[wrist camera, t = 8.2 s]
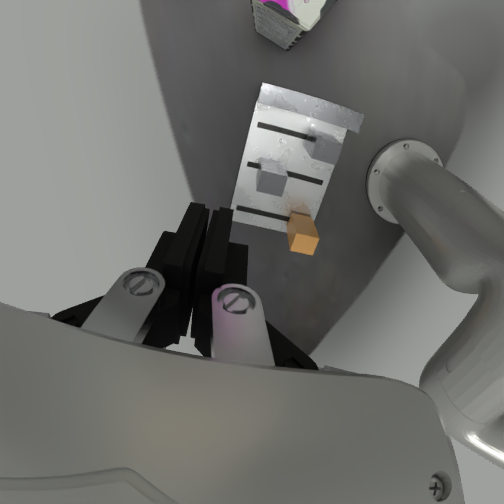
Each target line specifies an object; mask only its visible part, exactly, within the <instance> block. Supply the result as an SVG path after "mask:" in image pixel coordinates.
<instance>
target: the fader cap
mask: <svg viewBox="0 0 504 504" xmlns="http://www.w3.org/2000/svg"><path fill="white" fill-rule="evenodd" d="M286 229H287V235H288V241H289V247H290V251H295V252H300V253H304V254H309V255H313V253H314V250H315V248H316V245H317V243H318V241H319V236H318V233H317V230H316V227H315V224H314V221H313V218H311V217H307V216H303V215H299V214H295V213H292V214H291V216H290V219H289V222H288V225H287V228H286Z"/></svg>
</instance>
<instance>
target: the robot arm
mask: <svg viewBox="0 0 504 504" xmlns="http://www.w3.org/2000/svg"><path fill="white" fill-rule="evenodd" d="M404 144H405V145H404ZM403 145H404V146H403ZM375 169H376V171H374V170H375ZM366 190H367V196H368V199H369V202H370V204H371V205H372V207H373V209H374V210H375V211H376V213H377V214H378V215H379V216H381V217H382V218H383V219H385V220H386V221H388V222H391V223H394V224H400V225H401V226H402V228H403V229H404V230H405V232H406V233H407V234H408V235H409V237H410V238H411V239H412V241H413V242H414V243H415V245H416V246H417V247H418V248H419V250H420V252H421V253H422V254H423V256H424V257H425V258H426V260H427V261H428V263H429V264H430V266H431V267H432V268H433V270H434V271H435V272H436V274H437V275H438V277H439V278H440V279H441V281H442V282H443V283H445V284H446V285H447V286H448V287H450V288H451V289H453V290H455V291H458V292H462V293H469V294H479V295H478V298H477V300H476V302H475V304H474V305H473V306H472V308H471V309H470V310H469V312H468V314H467V316H466V317H465V318H464V319H463V321H462V322H461V323H460V324H459V325H458V327H457V328H456V329H455V330H454V331H453V333H452V334H451V335H450V336H449V337H448V339H447V340H446V341H445V342H444V343H443V344H442V346H441V347H440V348H439V349H438V350H437V351H436V352H435V354H434V355H433V356H432V357H431V359H430V360H429V361H428V362H427V364H426V365H425V367H424V369H423V371H422V374H421V376H420V381H419V388H417V387H415V386H413V385H411V384H408V383H405V382H402V381H399V380H396V379H391V378H387V377H383V376H376V375H370V374H359V373H354V372H349V371H345V370H342V369H338V368H334V367H330V366H326V365H325V366H324V368H320V367H317V365H316V363H315V362H314V361H313V360H312V359H311V358H310V357H309V356H307V355H306V354H305V353H304V352H303V351H301V350H300V349H299V348H298V347H297V346H295V345H294V344H293V343H292V342H291V341H290V340H288V339H287V338H286V337H285V336H284V335H282V334H281V333H280V332H279V331H278V330H277V329H275V328H274V327H273V326H272V325H271V324H270V323H268V322H267V321H266V320H265V317H264V313H263V308H262V304H261V300H260V298H259V296H258V295H257V294H256V293H255V291H253V290H252V289H250V288H248V287H246V285H247V265H248V245H243V244H237V243H231V242H229V237H230V231H231V225H232V218H233V212H234V209H228V208H222V207H220V209H219V211H218V210H214V211H213V214H212V218H211V221H210V224H209V228H208V231H207V225H208V218H209V211H210V209H206V208H205V204H199V203H193V202H191V203H190V205H189V207H188V209H187V211H186V213H185V215H184V217H183V219H182V221H181V224H180V226H179V228H178V230H177V232H176V233H173V232H168V231H164V232H163V233H162V235H161V237H160V239H159V241H158V243H157V245H156V247H155V249H154V251H153V253H152V255H151V257H150V259H149V261H148V263H147V265H146V267H143V268H133V269H130V270H128V271H126V272H124V273H123V274H122V275H121V276H120V277H119V278H118V280H117V281H116V282H115V283H114V284H113V286H112V287H111V288H110V290H109V291H108V292H107V293H106V295H104V296H101V297H98V298H95V299H93V300H90V301H87V302H85V303H82V304H79V305H77V306H74V307H71V308H68V309H66V310H63V311H61V312H59V313H57V314H55V315H54V316H53V317H50V314H49V313H41V312H31V311H25V310H22V309H19V308H16V307H13V306H10V305H7V304H4V303H1V302H0V504H465V502H464V495H463V490H462V484H461V478H460V474H459V469H458V464H457V460H456V456H455V453H454V449H453V446H452V442H451V439H450V436H451V437H452V438H454V439H455V440H457V441H458V442H460V443H461V444H463V445H465V446H466V447H468V448H469V449H471V450H472V451H474V452H476V453H477V454H479V455H481V456H482V457H484V458H485V459H487V460H489V461H490V462H492V463H493V464H495V465H497V466H499V467H501V468H502V469H504V212H503V211H502V210H500V209H499V208H498V207H497V206H496V205H494V204H493V203H492V202H491V201H489V200H488V199H486V198H485V197H484V196H483V195H481V194H480V193H479V192H477V191H476V190H475V189H473V188H472V187H471V186H469V185H468V184H467V183H465V182H464V181H462V180H461V179H459V178H458V177H457V176H455V175H454V174H452V173H451V172H449V171H448V170H446V169H445V168H443V165H442V162H441V159H440V158H439V156H438V154H437V153H436V152H435V151H434V150H433V149H432V148H431V147H430V146H428V145H427V144H425V143H423V142H421V141H419V140H415V139H401V140H397V141H395V142H392V143H390V144H388V145H387V146H386V147H384V148H383V149H382V150H381V151H380V152H379V153H378V154H377V155H376V157H375V158H374V160H373V161H372V163H371V166H370V168H369V170H368V174H367V180H366ZM206 233H207V235H206ZM192 308H193V312H192ZM191 312H192V324H191V338H195V344H194V346H195V347H196V348H197V350H198V351H200V353H201V354H202V355H203V356H198V355H192V354H187V353H182V352H176V351H171V350H166V347H167V346H169V345H171V344H173V343H174V344H179V340H180V336H186V334H187V330H188V325H189V321H190V316H191Z"/></svg>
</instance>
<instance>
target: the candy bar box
mask: <svg viewBox="0 0 504 504" xmlns="http://www.w3.org/2000/svg"><path fill="white" fill-rule="evenodd" d="M336 1H337V0H251V6H252V13H253V18H254V26H255V31H256V32H258V33H260V34H261V35H263V36H265V37H266V38H268V39H269V40H271V41H273V42H274V43H276V44H277V45H279V46H280V47H282V48H283V49H285V50H286V51H289V50H290V49H291V48H292V47H293V46H294V45H295V44H296V43H297V42H298V41H299V40H300V39H301V38H302V37H303V36H304V35H305V34H306V33H307V32H308V31H310V30H311V28H312V27H313V26H314V25H315V24H316V23H317V22H318V21H319V19H320V18H321V17H322V16H323V15H324V14H325V13H326V12H327V11H328V10H329V8H330V7H331V6H332V5H333V4H334V3H335V2H336Z"/></svg>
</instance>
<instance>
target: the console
mask: <svg viewBox="0 0 504 504" xmlns="http://www.w3.org/2000/svg"><path fill="white" fill-rule="evenodd" d="M364 116H365V115H364V114H361V113H359V112H356V111H354V110H351V109H349V108H346V107H343V106H340V105H337V104H335V103H332V102H329V101H326V100H323V99H320V98H317V97H313V96H310V95H307V94H304V93H300V92H297V91H293V90H290V89H286V88H282V87H279V86H275V85H271V84H267V83H261V87H260V91H259V95H258V98H257V102H256V106H255V110H254V114H253V117H252V121H251V125H250V129H249V133H248V137H247V141H246V145H245V149H244V153H243V157H242V161H241V165H240V169H239V174H238V178H237V182H236V186H235V190H234V195H233V199H232V203H231V208H230V209H234V212H233V218H232V221H236V222H241V223H246V224H250V225H255V226H259V227H264V228H268V229H273V230H277V231H281V232H286V233H287V229H286V228H287V225H288V222H289V219H290V216H291V214H292V213H295V214H299V215H303V216H307V217H311V218H313V221H314V220H315V218H316V215H317V212H318V210H319V207H320V204H321V202H322V199H323V196H324V194H325V191H326V188H327V185H328V183H329V180H330V177H331V174H332V171H333V169H334V166H336V165H337V162H338V159H339V156H340V153H341V150H342V148H343V144H342V143H343V140H344V137H345V134H346V131H347V129H348V130H350V131H353V132H356V133H359V130H360V128H361V125H362V122H363V119H364Z"/></svg>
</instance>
